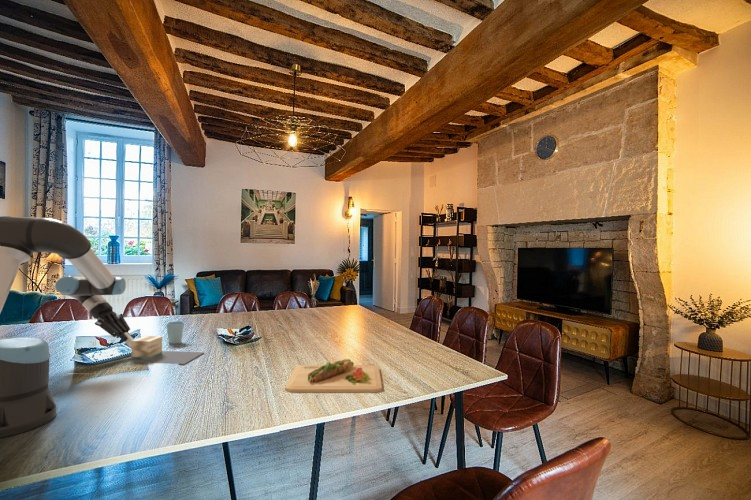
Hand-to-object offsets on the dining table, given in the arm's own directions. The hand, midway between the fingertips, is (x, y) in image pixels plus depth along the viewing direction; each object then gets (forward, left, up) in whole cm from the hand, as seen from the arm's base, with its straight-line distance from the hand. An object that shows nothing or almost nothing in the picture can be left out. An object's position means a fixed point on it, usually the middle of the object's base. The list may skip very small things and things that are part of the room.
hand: (133, 344), depth 144 cm
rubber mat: (-13, -6, -5) cm, 15 cm away
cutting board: (-93, -26, -6) cm, 97 cm away
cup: (+5, -22, -6) cm, 23 cm away
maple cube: (-6, -3, -5) cm, 8 cm away
